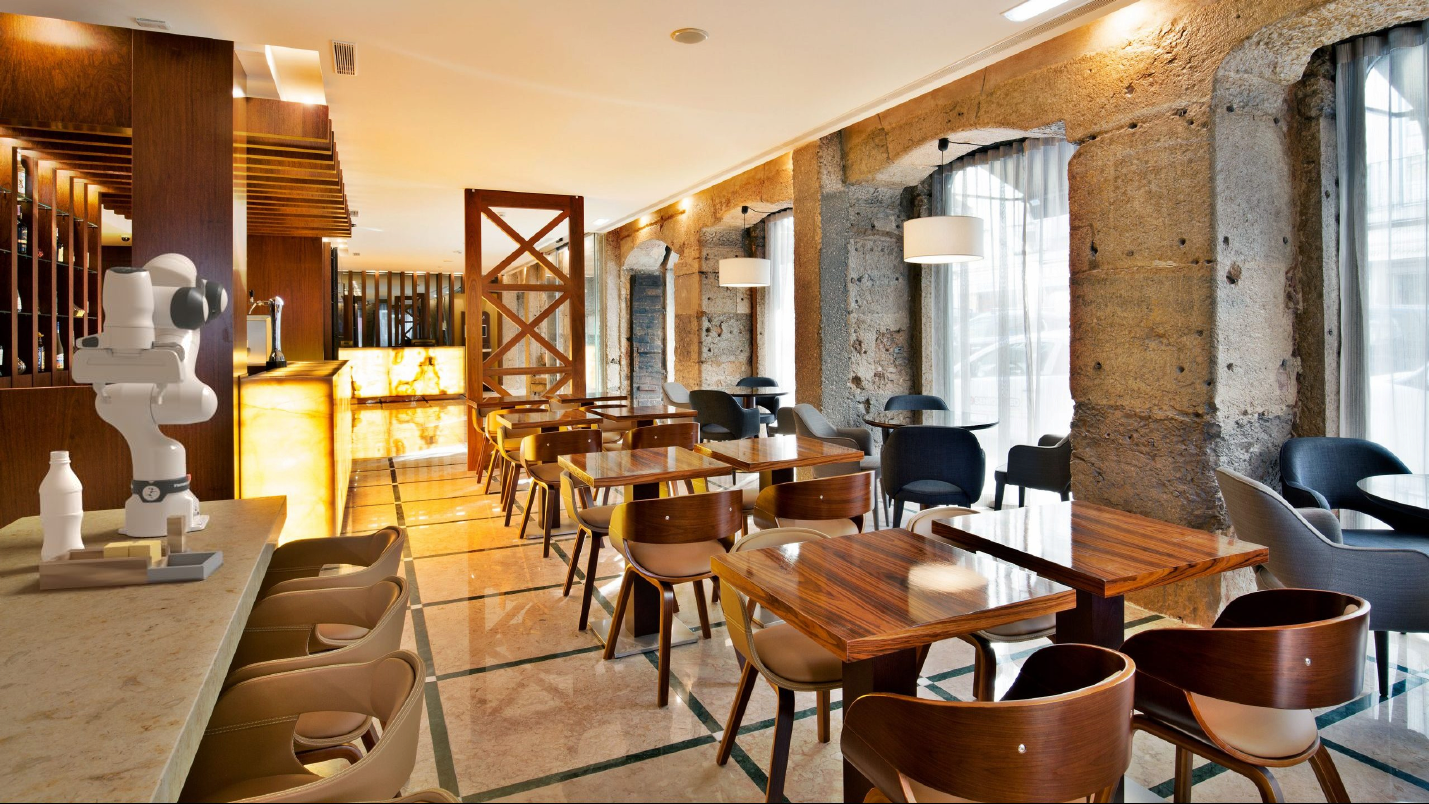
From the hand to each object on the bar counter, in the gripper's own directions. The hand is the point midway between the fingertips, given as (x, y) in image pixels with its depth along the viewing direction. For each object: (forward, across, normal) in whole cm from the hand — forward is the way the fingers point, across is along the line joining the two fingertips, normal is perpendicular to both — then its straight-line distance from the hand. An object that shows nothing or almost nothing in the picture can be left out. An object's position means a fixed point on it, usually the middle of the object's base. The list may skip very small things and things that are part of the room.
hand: (131, 404), depth 166 cm
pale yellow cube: (+31, -6, +11) cm, 33 cm away
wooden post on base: (+36, -8, +1) cm, 37 cm away
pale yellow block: (+31, -1, +11) cm, 33 cm away
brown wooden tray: (+36, +1, +11) cm, 37 cm away
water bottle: (+36, +14, -2) cm, 38 cm away
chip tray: (+36, -13, +11) cm, 40 cm away
